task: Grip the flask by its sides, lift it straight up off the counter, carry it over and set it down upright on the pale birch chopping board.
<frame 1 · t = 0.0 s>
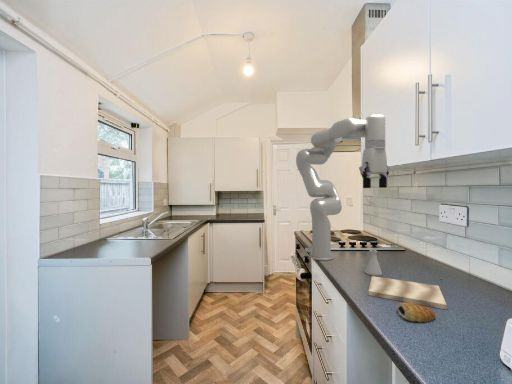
hand: (375, 187, 103), 37 cm above the countertop, tool pointing down, fingers open, 9 cm apart
pastry: (413, 317, 73), on the countertop
flask: (373, 274, 108), on the countertop
birch board: (404, 292, 89), on the countertop
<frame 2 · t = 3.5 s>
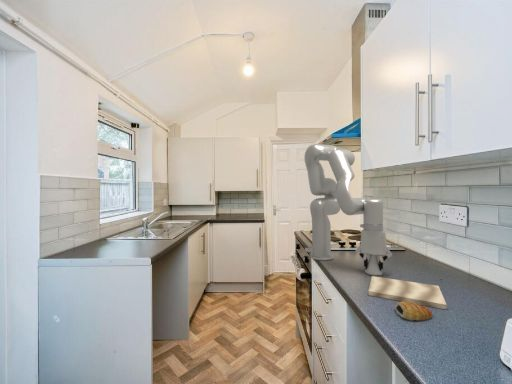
hand: (373, 269, 108), 2 cm above the countertop, tool pointing down, fingers closed on flask, 4 cm apart
flask: (373, 273, 108), on the countertop, touching gripper
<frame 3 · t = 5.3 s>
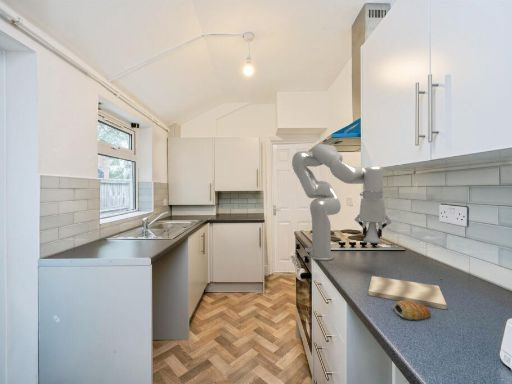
hand: (372, 237, 108), 16 cm above the countertop, tool pointing down, fingers closed on flask, 4 cm apart
flask: (372, 242, 109), point 14 cm above the countertop, touching gripper
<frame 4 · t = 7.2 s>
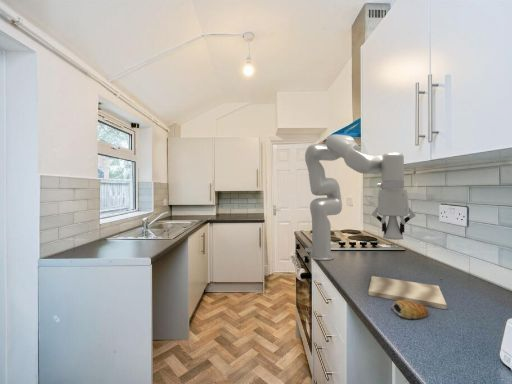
hand: (393, 233, 95), 20 cm above the countertop, tool pointing down, fingers closed on flask, 4 cm apart
flask: (393, 238, 95), point 18 cm above the countertop, touching gripper
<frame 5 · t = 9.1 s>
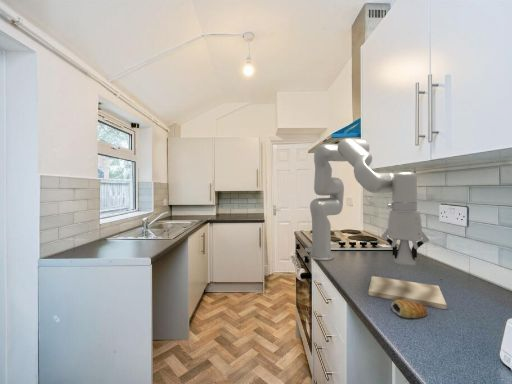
hand: (404, 257, 89), 12 cm above the countertop, tool pointing down, fingers closed on flask, 4 cm apart
flask: (404, 263, 89), point 10 cm above the countertop, touching gripper
when the fingers open (4 cm above the countertop, at t = 10.9 s): flask stays where it is, resting on birch board.
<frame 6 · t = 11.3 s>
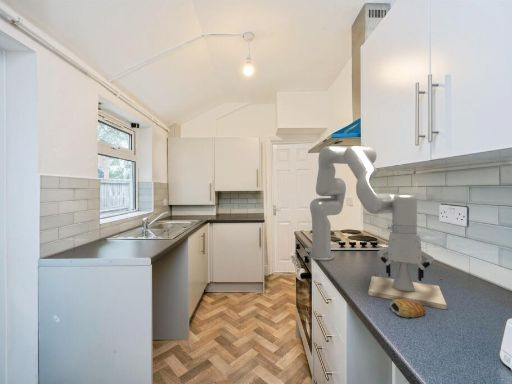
hand: (404, 277, 89), 5 cm above the countertop, tool pointing down, fingers open, 9 cm apart
flask: (403, 288, 89), point 1 cm above the countertop, touching birch board
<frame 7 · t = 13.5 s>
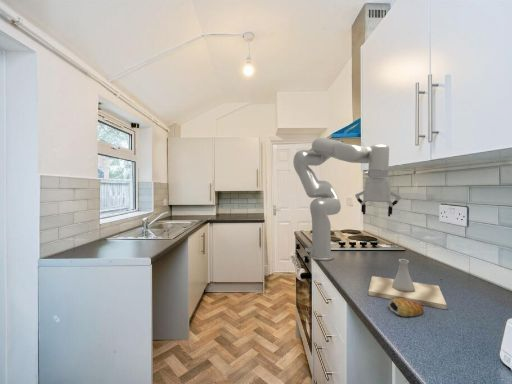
hand: (376, 215, 106), 26 cm above the countertop, tool pointing down, fingers open, 9 cm apart
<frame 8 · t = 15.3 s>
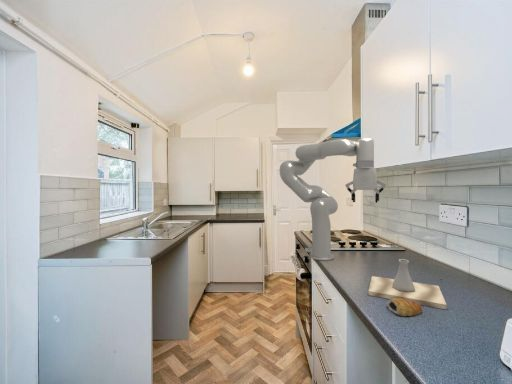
hand: (365, 202, 116), 30 cm above the countertop, tool pointing down, fingers open, 9 cm apart
at the end: flask inside the target area on the birch board (0.2 cm from its centre), point 1.3 cm above the birch board's base; flask tilted 0°; the gripper is holding nothing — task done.
